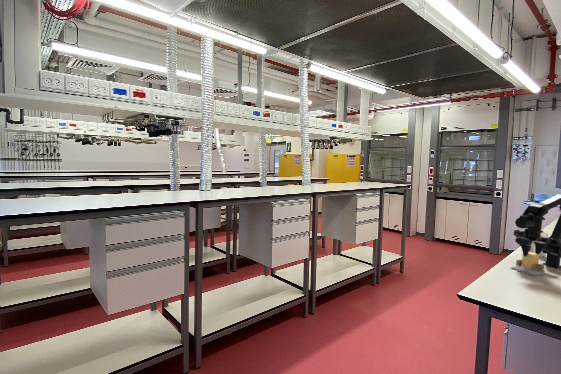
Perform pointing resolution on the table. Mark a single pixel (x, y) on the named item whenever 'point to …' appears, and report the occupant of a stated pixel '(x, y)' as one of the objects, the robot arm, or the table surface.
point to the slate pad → (527, 271)
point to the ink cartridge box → (534, 246)
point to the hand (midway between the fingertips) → (531, 255)
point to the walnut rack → (534, 266)
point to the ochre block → (530, 260)
